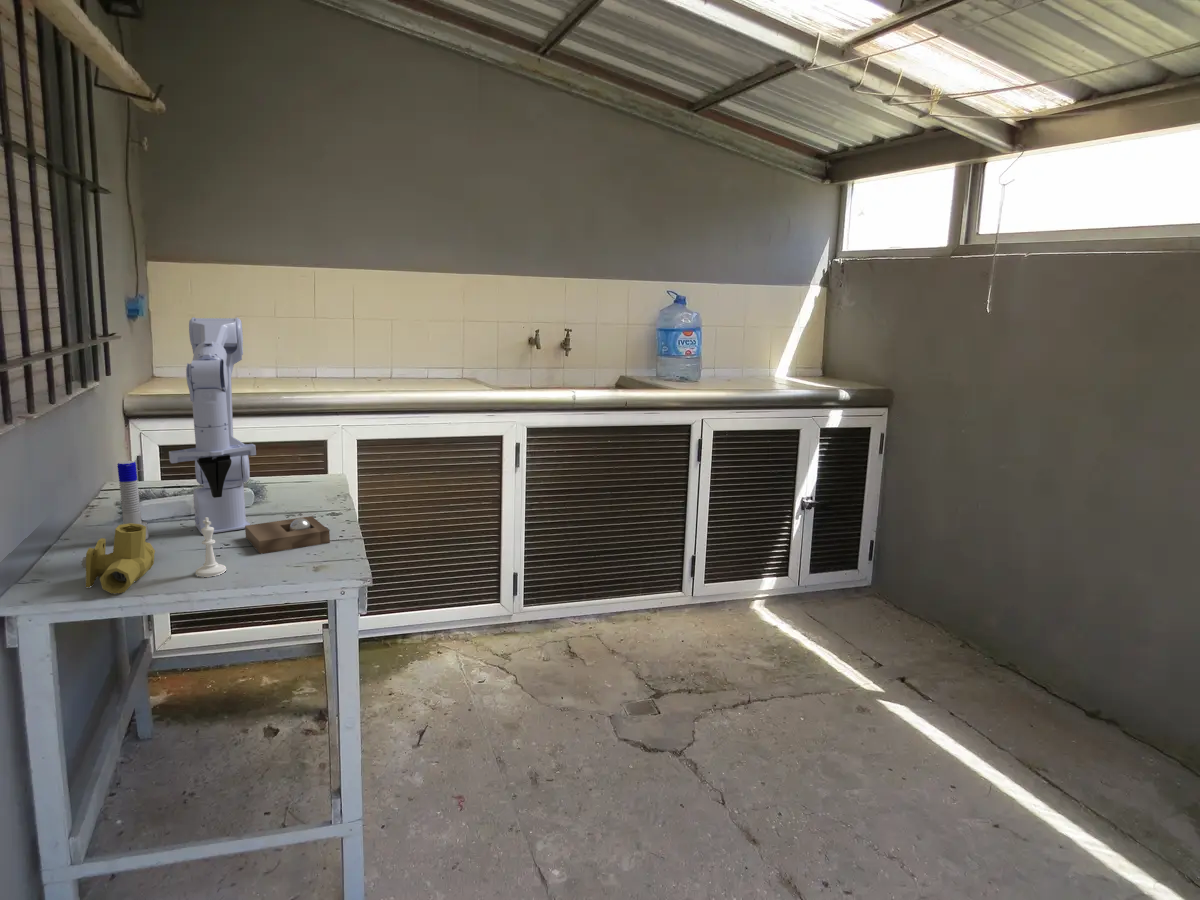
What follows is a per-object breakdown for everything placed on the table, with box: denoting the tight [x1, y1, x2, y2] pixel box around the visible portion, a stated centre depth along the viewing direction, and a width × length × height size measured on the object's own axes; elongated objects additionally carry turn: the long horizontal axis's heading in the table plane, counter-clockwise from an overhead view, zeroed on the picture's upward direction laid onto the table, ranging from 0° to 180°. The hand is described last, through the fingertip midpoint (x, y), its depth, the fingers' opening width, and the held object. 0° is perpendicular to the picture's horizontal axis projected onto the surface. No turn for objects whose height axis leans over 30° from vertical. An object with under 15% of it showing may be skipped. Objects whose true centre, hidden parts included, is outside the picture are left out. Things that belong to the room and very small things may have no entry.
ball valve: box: [81, 523, 156, 594], centre depth 136 cm, size 13×10×10 cm
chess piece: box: [195, 517, 227, 578], centre depth 141 cm, size 5×5×10 cm
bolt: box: [117, 460, 149, 541], centre depth 158 cm, size 16×5×5 cm
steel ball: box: [290, 517, 311, 531], centre depth 162 cm, size 4×4×4 cm
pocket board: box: [244, 515, 331, 555], centre depth 161 cm, size 13×12×2 cm
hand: (216, 496), depth 153 cm, fingers closed
